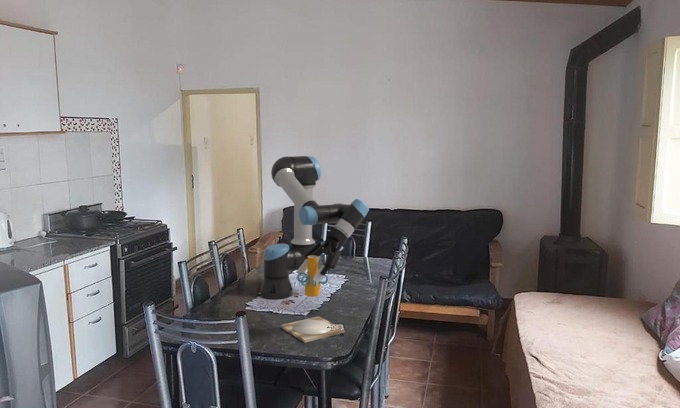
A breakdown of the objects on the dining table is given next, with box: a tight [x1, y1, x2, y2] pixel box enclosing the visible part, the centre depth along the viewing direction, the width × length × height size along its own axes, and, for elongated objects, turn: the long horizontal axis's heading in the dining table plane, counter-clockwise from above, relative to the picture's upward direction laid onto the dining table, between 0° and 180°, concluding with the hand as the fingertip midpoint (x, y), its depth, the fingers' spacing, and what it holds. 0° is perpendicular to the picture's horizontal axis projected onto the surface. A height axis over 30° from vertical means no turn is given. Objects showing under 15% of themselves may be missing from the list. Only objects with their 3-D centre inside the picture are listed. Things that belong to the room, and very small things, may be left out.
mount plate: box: [280, 315, 346, 344], centre depth 206 cm, size 18×18×1 cm
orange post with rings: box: [296, 255, 329, 298], centre depth 203 cm, size 12×10×15 cm
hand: (306, 277), depth 201 cm, fingers closed on orange post with rings, 11 cm apart
